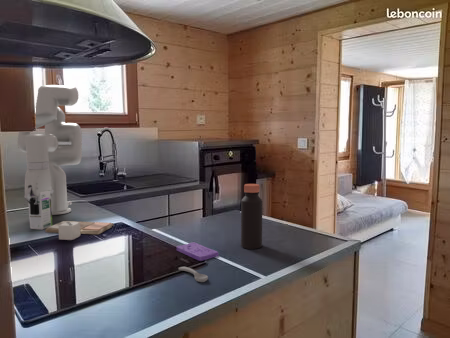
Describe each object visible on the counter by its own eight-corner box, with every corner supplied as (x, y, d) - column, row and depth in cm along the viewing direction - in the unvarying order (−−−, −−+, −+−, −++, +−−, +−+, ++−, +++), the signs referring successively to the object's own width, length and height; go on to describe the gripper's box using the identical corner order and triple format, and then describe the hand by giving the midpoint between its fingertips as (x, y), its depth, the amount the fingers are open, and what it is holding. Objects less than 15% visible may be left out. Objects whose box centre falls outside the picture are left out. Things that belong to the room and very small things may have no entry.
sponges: (194, 247, 115) (194, 241, 115) (219, 257, 105) (219, 251, 105) (175, 252, 110) (175, 246, 110) (200, 262, 101) (200, 256, 101)
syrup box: (42, 229, 135) (40, 192, 133) (29, 229, 136) (27, 191, 135) (52, 226, 140) (51, 189, 139) (39, 225, 142) (37, 189, 140)
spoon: (200, 285, 85) (200, 276, 85) (176, 273, 94) (175, 266, 94) (210, 282, 87) (210, 274, 87) (185, 271, 96) (185, 263, 96)
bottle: (256, 250, 109) (256, 186, 108) (237, 247, 113) (237, 185, 111) (265, 245, 115) (266, 184, 113) (247, 241, 119) (247, 182, 117)
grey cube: (67, 235, 127) (66, 221, 127) (80, 236, 127) (79, 222, 126) (59, 239, 122) (58, 225, 122) (72, 240, 122) (71, 225, 121)
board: (64, 224, 143) (64, 220, 143) (113, 226, 140) (113, 222, 140) (45, 232, 131) (45, 228, 131) (98, 234, 128) (98, 230, 128)
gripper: (43, 164, 145) (46, 208, 147) (12, 168, 128) (15, 217, 130) (60, 164, 144) (62, 208, 146) (31, 168, 127) (34, 218, 129)
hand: (40, 212), depth 138 cm, fingers closed on syrup box, 5 cm apart
